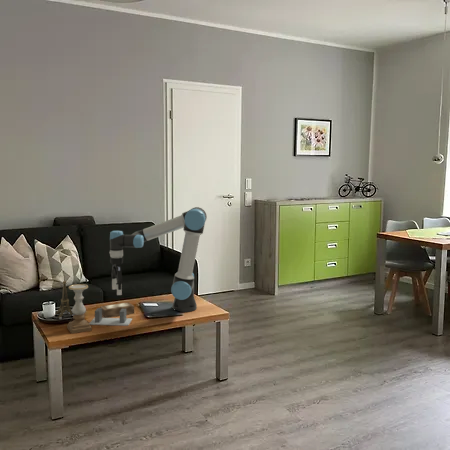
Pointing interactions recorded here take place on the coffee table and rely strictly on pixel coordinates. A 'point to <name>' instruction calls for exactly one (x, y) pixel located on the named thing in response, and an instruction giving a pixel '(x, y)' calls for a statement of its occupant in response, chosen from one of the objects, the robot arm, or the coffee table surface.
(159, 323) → the coffee table surface
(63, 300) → the eiffel tower
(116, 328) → the coffee table surface
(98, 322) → the board
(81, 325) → the candle holder
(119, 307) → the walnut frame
